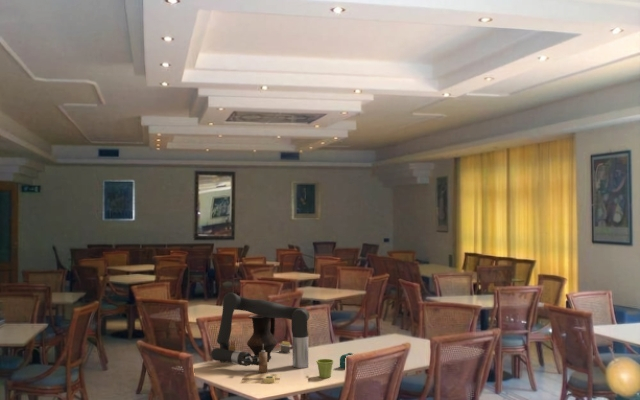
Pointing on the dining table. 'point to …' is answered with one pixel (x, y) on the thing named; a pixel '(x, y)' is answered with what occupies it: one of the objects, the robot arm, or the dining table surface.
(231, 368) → the dining table surface
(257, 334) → the jug
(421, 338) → the dining table surface
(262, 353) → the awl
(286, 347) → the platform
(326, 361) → the plant pot
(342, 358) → the bracket
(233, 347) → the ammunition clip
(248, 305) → the robot arm
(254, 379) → the plywood panel
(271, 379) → the stud finder
